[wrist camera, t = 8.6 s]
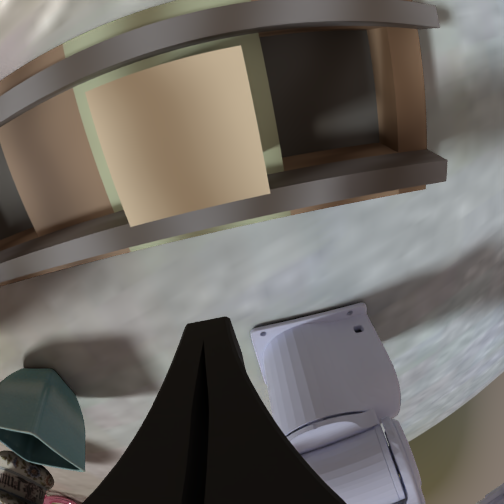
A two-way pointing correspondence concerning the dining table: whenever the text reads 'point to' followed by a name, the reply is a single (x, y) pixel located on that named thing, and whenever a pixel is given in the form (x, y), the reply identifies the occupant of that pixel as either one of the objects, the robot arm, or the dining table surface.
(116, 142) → the maple block
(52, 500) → the pink slatted sphere
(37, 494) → the apothecary jar
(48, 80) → the trap box
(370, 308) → the dining table surface
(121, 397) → the dining table surface
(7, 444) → the flower pot
